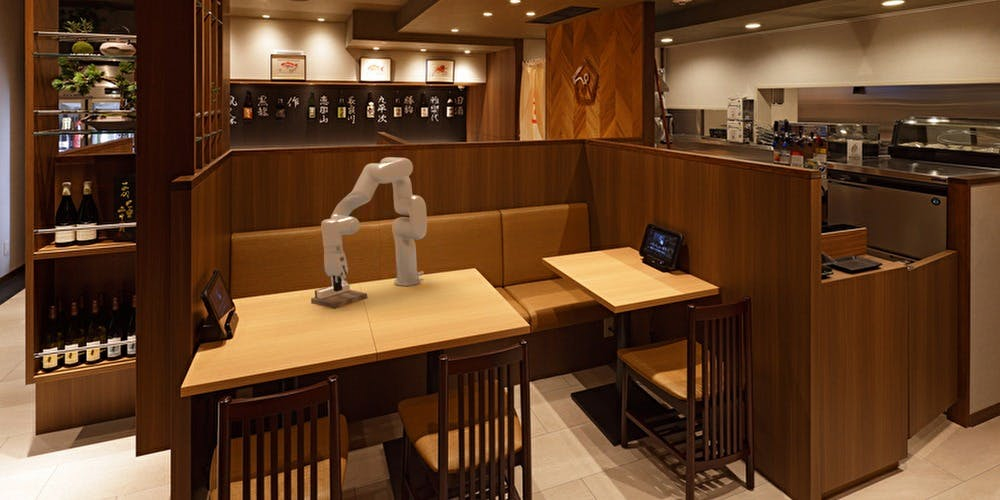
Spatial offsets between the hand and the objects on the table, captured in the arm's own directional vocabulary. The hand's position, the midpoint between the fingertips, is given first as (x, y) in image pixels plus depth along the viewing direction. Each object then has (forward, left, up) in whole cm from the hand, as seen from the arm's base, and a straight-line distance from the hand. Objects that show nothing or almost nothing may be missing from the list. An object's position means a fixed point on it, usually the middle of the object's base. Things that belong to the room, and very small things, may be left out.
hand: (338, 290), depth 240 cm
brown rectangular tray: (-3, -3, -6) cm, 7 cm away
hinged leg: (-3, -7, -3) cm, 8 cm away
